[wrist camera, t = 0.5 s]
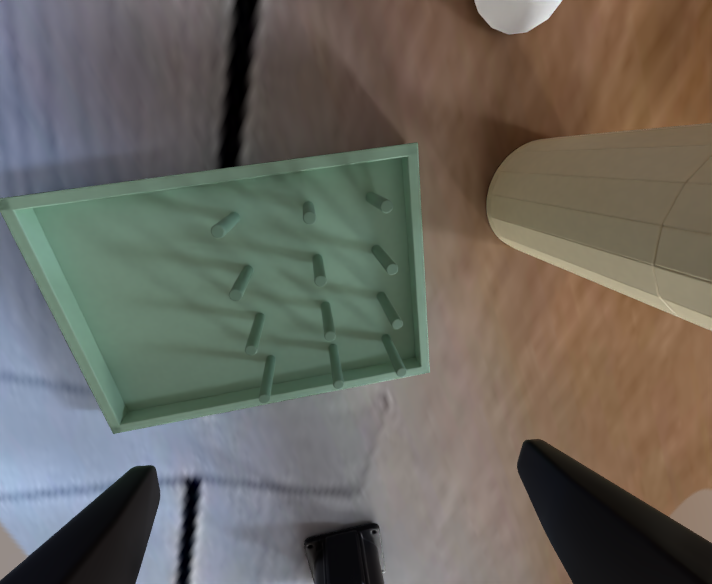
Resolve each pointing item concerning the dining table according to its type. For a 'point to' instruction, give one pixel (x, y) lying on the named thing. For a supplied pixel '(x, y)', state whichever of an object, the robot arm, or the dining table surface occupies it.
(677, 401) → the dining table surface
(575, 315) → the dining table surface
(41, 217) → the dish rack
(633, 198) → the beige cylindrical vase
